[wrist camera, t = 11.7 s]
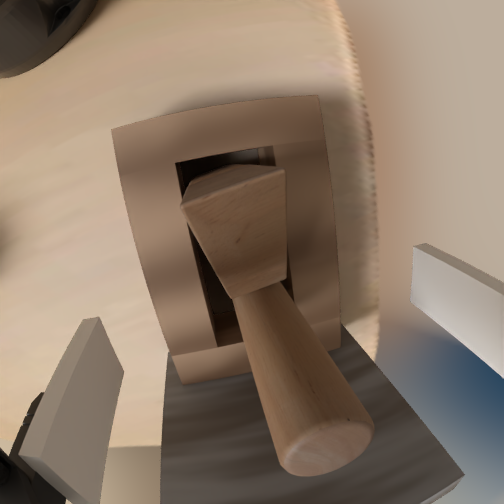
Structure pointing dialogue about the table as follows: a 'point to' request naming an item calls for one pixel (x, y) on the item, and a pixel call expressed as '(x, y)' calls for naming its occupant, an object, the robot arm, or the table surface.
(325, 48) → the table surface
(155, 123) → the post block
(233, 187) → the wooden block
